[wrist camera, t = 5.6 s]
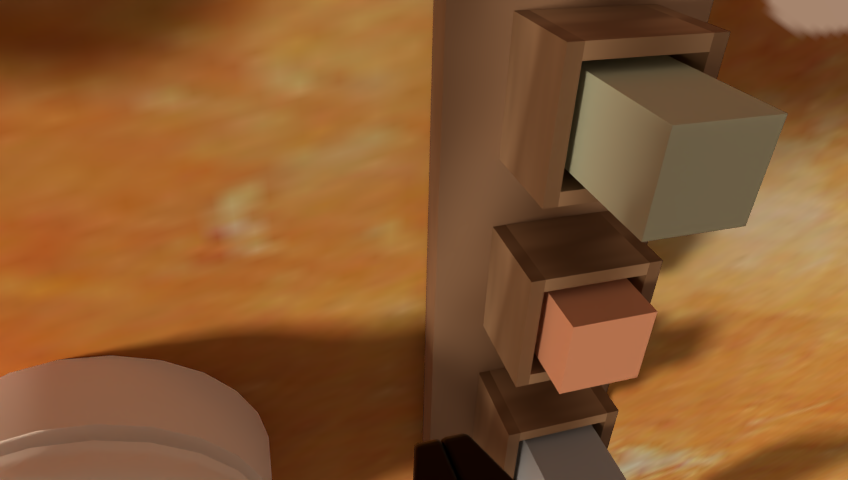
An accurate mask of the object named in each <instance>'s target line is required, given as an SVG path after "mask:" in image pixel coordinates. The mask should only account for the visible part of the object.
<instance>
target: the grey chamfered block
mask: <svg viewBox="0 0 848 480" xmlns="http://www.w3.org/2000/svg"><path fill="white" fill-rule="evenodd" d="M514 479H515V480H626V479H625V477H624V475H623V474H622V472H621V471H620V469H619V467H618V466H617V464H616V463H615V461H614V459H613V458H612V456H611V455H610V453H609V452H608V450H607V448H606V447H605V445H604V444H603V442H602V440H601V439H600V437H599V436H598V434H597V432H596V431H595V429H594V428H593V426H592V425H587V426H583V427H579V428H574V429H570V430H566V431H561V432H557V433H553V434H548V435H544V436H540V437H535V438H531V439H527V440H522V441H519V446H518V452H517V458H516V465H515V471H514Z"/></svg>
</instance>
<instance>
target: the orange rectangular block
mask: <svg viewBox="0 0 848 480" xmlns="http://www.w3.org/2000/svg"><path fill="white" fill-rule="evenodd" d="M656 315H657V311H656V310H655V308H654V307H653V306H652V305H651V304H650V303H649V302H648V301H647V300H646V299H645V298H644V297H643V295H642V294H641V293H640V292H639V291H638V290H637V289H636V288H635V287H634V286H633V285H632V284H631V282H630V281H629V280H628V279H627V278H624V279H618V280H613V281H607V282H601V283H595V284H589V285H583V286H577V287H571V288H565V289H560V290H554V291H548V292H544V295H543V301H542V307H541V313H540V319H539V325H538V331H537V337H536V343H535V349H534V353H535V354H536V356H537V358H538V359H539V361H540V363H541V364H542V366H543V368H544V369H545V371H546V373H547V374H548V376H549V377H550V379H551V381H552V382H553V384H554V386H555V387H556V389H557V391H558V392H559V394H562V393H566V392H571V391H576V390H580V389H585V388H590V387H594V386H599V385H604V384H608V383H613V382H617V381H622V380H627V379H631V378H636V377H638V373H639V370H640V367H641V364H642V360H643V357H644V354H645V351H646V347H647V344H648V341H649V338H650V334H651V331H652V328H653V325H654V321H655V318H656Z"/></svg>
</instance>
